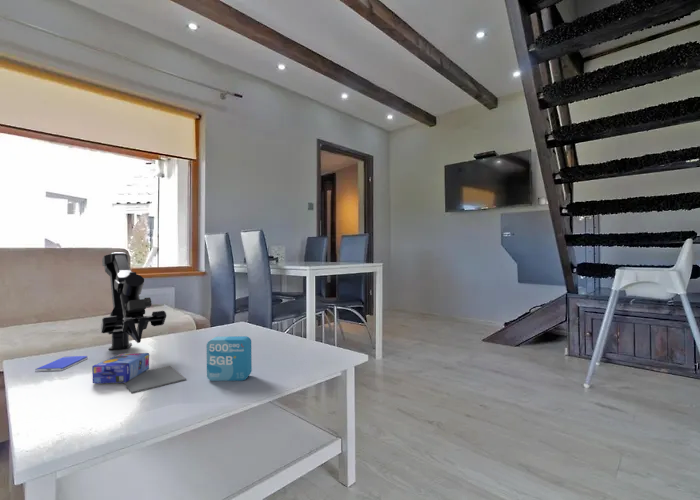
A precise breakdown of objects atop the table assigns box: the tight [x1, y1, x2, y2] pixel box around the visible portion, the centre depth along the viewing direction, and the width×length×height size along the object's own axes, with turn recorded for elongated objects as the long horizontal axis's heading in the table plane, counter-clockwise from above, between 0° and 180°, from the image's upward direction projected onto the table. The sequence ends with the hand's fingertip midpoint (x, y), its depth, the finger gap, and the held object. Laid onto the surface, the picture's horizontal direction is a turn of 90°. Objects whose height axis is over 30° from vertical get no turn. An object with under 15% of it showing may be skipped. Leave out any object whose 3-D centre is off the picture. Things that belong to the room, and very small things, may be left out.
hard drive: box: [34, 355, 89, 372], centre depth 119 cm, size 2×8×12 cm
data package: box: [206, 335, 253, 382], centre depth 105 cm, size 12×4×12 cm, turn 90°
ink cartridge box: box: [91, 352, 150, 384], centre depth 105 cm, size 10×6×14 cm
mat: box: [123, 365, 187, 394], centre depth 105 cm, size 16×14×1 cm
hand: (139, 342), depth 116 cm, fingers closed
